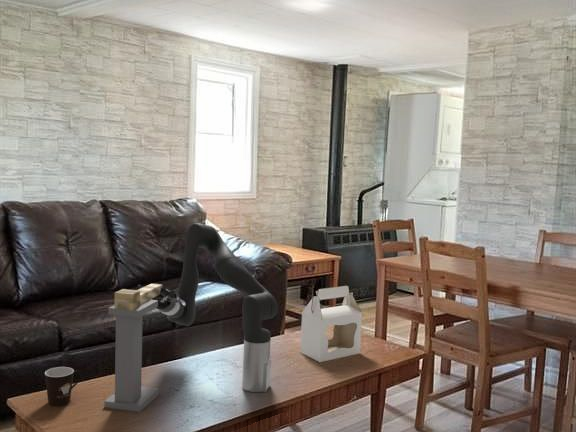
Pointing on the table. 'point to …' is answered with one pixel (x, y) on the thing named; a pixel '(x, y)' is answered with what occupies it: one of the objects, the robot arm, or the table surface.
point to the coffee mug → (60, 385)
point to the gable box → (321, 319)
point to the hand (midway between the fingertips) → (149, 288)
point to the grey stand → (130, 360)
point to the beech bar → (135, 296)
